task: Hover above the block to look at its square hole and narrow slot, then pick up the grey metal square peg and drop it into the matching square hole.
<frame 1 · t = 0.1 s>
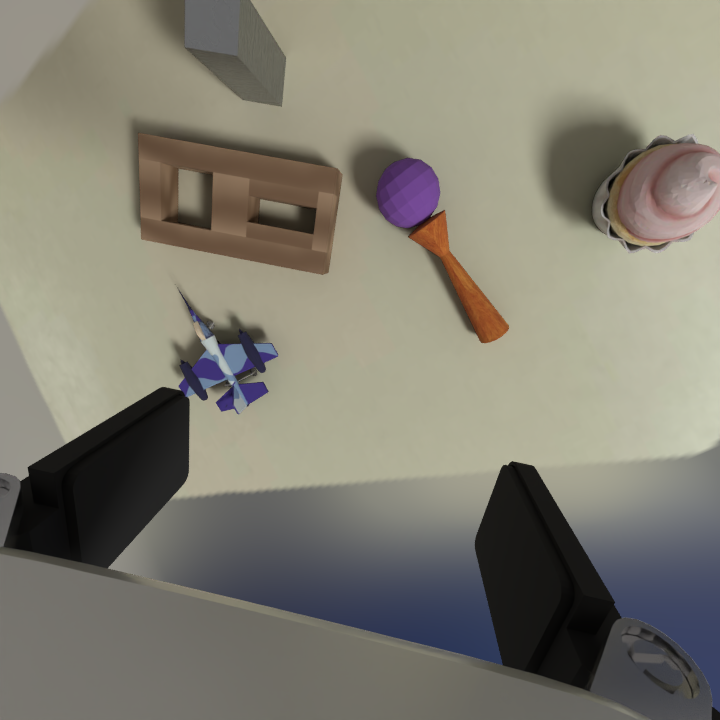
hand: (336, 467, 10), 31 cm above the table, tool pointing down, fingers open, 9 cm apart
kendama: (443, 255, 38), on the table
square peg: (264, 79, 34), on the table
cupcake: (625, 202, 34), on the table
socket block: (245, 208, 38), on the table
toy airplane: (230, 351, 44), on the table
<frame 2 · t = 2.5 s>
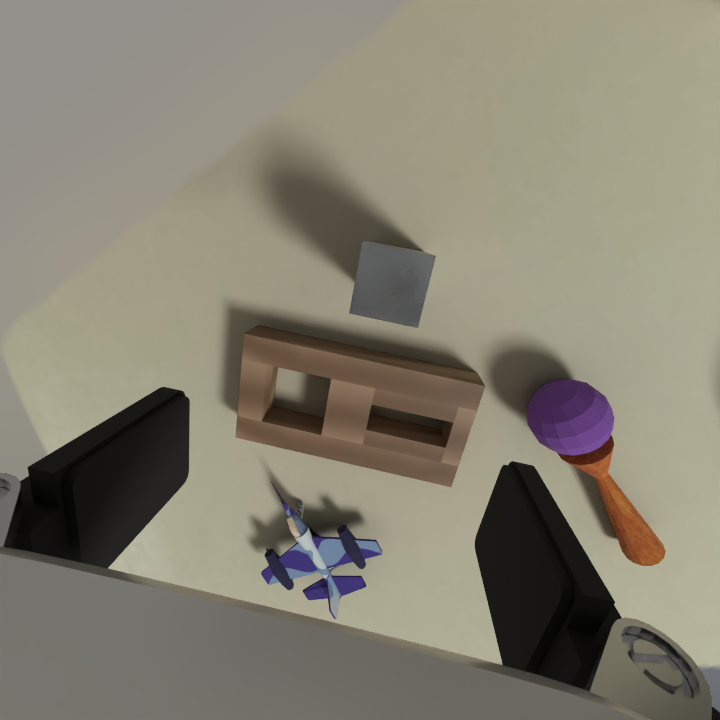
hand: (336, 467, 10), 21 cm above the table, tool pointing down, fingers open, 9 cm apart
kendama: (586, 458, 33), on the table
square peg: (394, 271, 29), on the table
socket block: (355, 398, 33), on the table
toy airplane: (318, 529, 39), on the table
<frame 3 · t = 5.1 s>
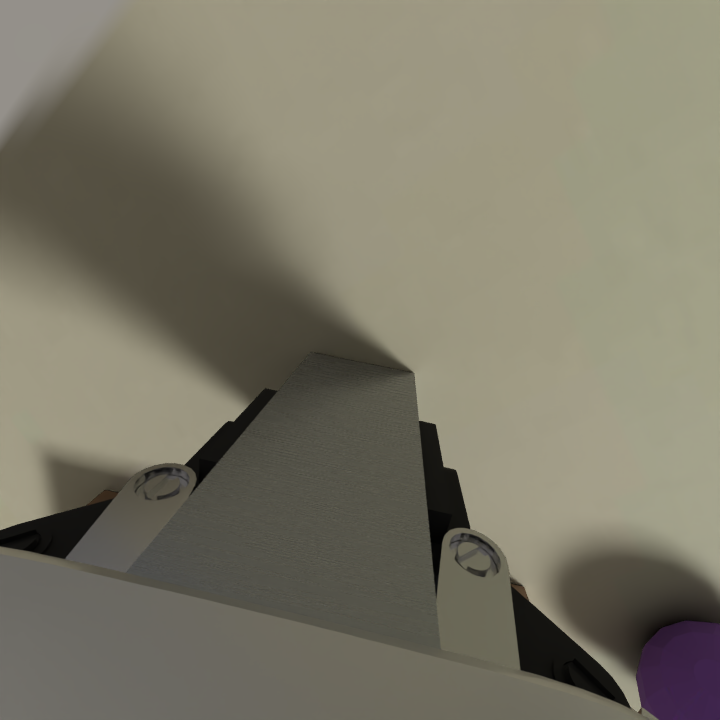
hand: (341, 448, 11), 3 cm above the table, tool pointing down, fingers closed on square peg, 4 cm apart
square peg: (353, 409, 14), on the table, touching gripper
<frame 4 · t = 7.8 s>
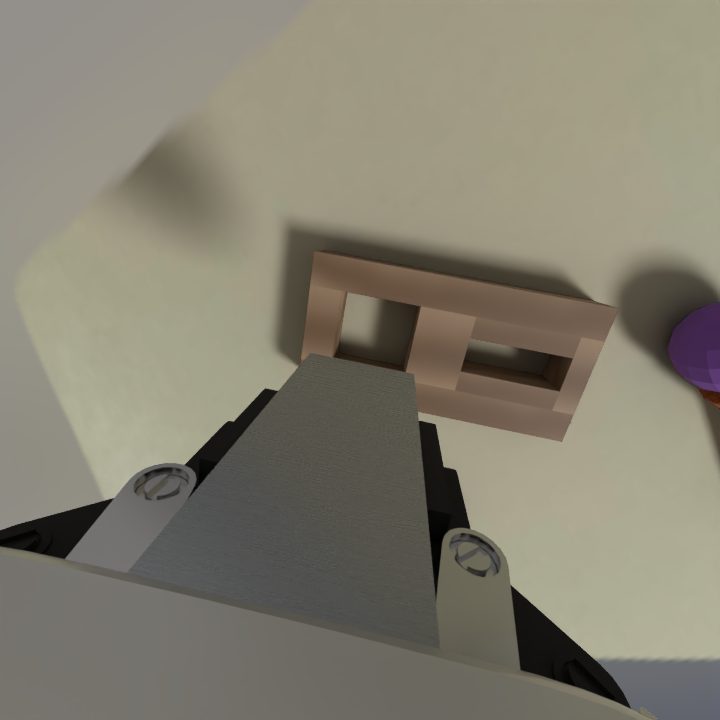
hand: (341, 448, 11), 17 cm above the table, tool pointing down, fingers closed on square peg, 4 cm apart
square peg: (353, 409, 14), point 15 cm above the table, touching gripper
socket block: (439, 339, 27), on the table
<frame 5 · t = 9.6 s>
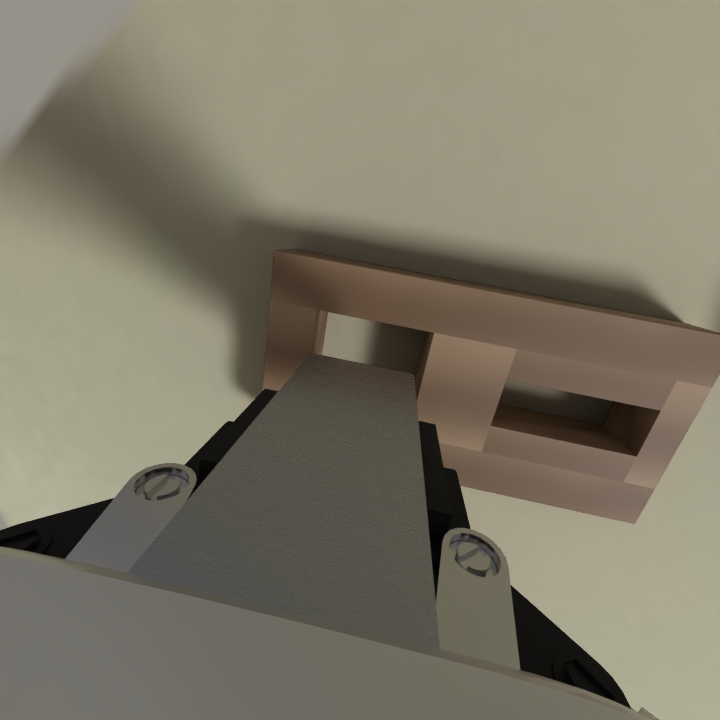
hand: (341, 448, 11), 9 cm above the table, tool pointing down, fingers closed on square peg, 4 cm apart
square peg: (353, 410, 14), point 6 cm above the table, touching gripper
socket block: (457, 374, 20), on the table
when the fingers open (5 cm above the table, at t = 11.0 s): square peg drops 2 cm, resting in socket block.
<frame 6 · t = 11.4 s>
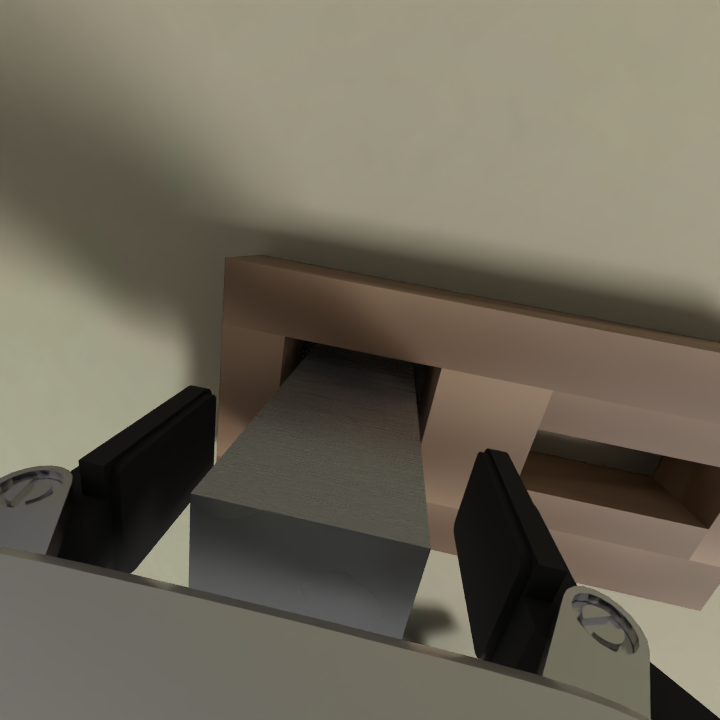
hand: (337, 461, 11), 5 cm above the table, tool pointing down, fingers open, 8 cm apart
square peg: (358, 389, 16), resting in socket block
socket block: (469, 412, 15), on the table
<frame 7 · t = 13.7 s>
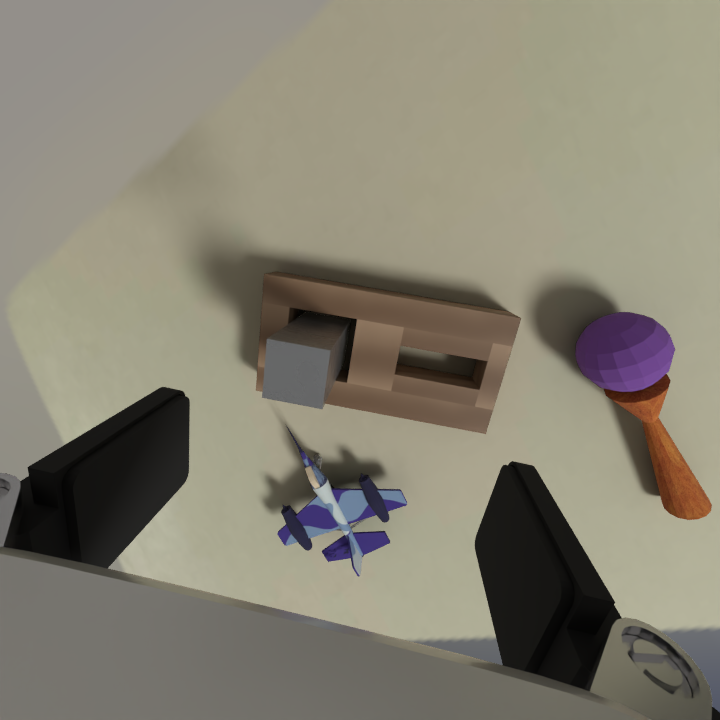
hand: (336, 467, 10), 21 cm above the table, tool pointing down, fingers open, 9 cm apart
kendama: (630, 407, 31), on the table
square peg: (325, 337, 31), resting in socket block
socket block: (380, 347, 31), on the table
toy airplane: (336, 486, 37), on the table
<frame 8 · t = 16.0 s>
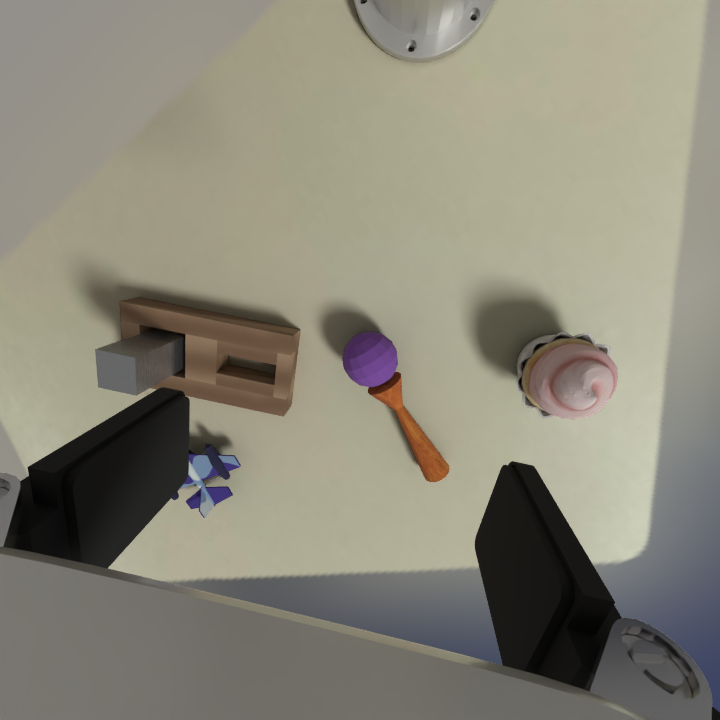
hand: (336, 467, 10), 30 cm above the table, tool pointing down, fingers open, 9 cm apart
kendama: (399, 399, 43), on the table
square peg: (178, 344, 43), resting in socket block
cupcake: (545, 360, 39), on the table
socket block: (216, 352, 43), on the table
toy airplane: (199, 453, 49), on the table
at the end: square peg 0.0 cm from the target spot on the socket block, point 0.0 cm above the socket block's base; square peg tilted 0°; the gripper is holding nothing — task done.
